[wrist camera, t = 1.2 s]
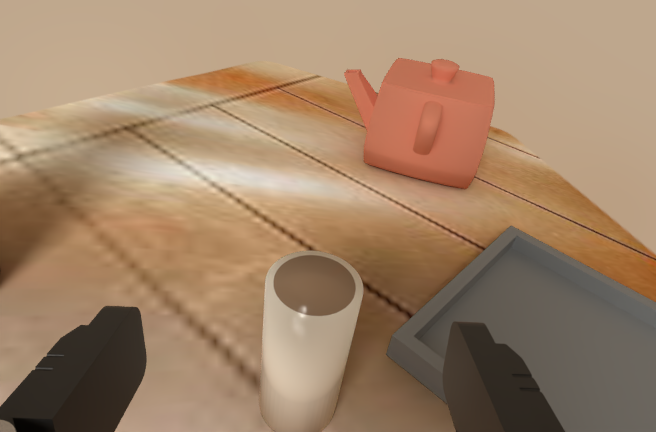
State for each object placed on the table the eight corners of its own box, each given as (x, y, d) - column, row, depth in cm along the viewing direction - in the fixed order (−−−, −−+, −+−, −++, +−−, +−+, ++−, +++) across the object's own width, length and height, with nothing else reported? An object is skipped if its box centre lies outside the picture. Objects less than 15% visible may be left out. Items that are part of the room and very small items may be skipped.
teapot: (474, 140, 71) (505, 52, 62) (468, 216, 54) (510, 107, 45) (354, 111, 74) (368, 24, 66) (312, 174, 57) (325, 66, 48)
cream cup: (243, 398, 32) (244, 278, 24) (298, 354, 35) (314, 238, 28) (296, 456, 29) (315, 340, 22) (351, 402, 32) (383, 287, 25)
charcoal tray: (385, 354, 36) (392, 334, 35) (502, 242, 50) (511, 225, 48) (691, 601, 25) (720, 588, 24) (732, 371, 39) (751, 353, 38)
